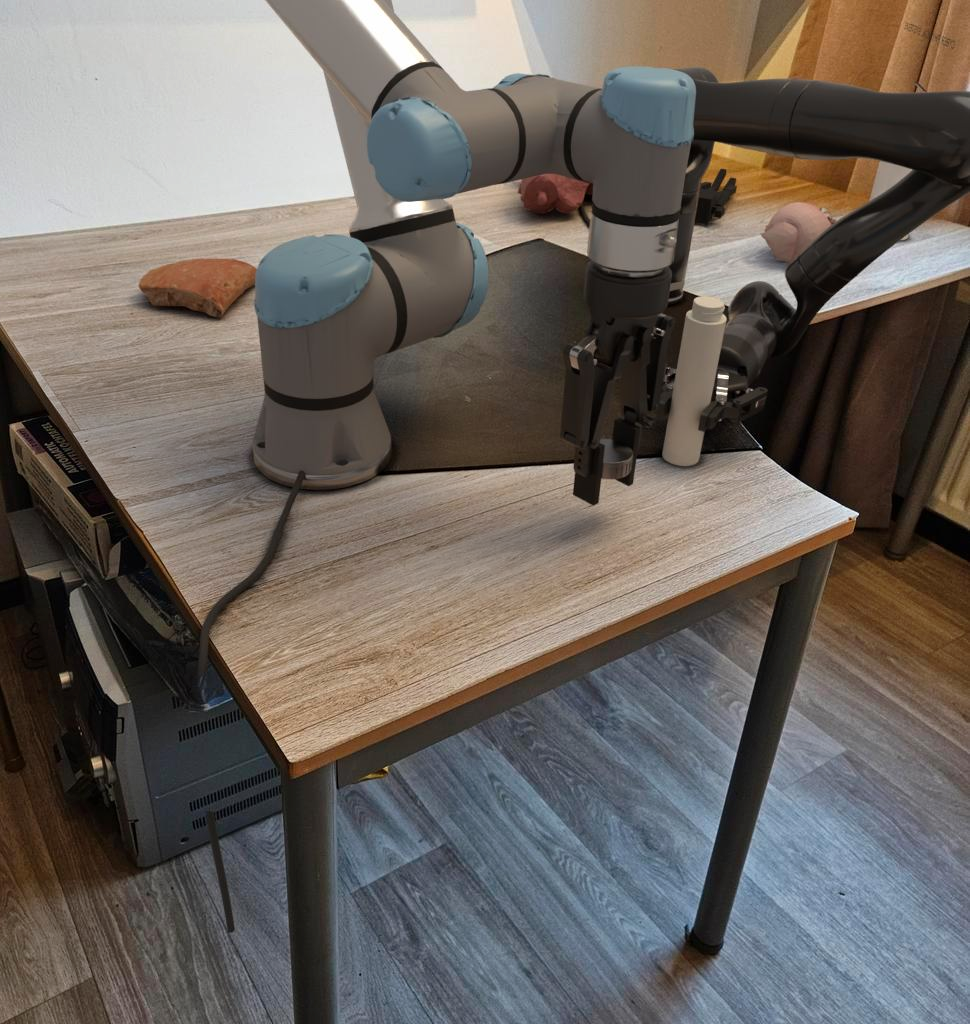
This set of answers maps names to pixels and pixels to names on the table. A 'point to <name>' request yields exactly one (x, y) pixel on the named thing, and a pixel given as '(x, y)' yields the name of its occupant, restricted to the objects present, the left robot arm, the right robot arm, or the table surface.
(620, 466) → the lid
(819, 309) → the right robot arm
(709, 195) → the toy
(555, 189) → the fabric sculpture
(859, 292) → the table surface
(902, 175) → the tall white tube
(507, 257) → the table surface
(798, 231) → the toy
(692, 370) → the beige cylindrical rod
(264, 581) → the table surface
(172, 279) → the ceramic shard
